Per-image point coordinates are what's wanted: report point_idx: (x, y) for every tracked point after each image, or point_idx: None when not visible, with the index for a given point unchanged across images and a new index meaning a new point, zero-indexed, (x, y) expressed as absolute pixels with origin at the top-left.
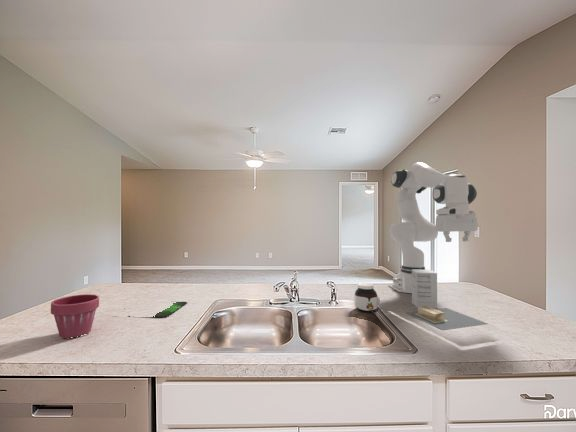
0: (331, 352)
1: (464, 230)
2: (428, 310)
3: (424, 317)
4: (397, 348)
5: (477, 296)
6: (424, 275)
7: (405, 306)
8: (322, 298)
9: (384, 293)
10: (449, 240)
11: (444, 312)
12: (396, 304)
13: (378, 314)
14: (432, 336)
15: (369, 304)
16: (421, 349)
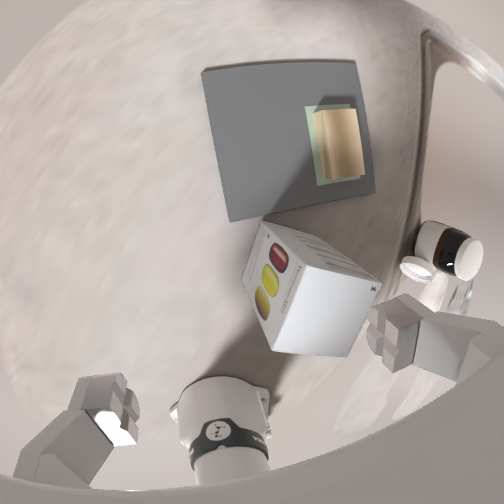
0: (497, 82)
1: (152, 499)
2: (353, 139)
3: None
4: (442, 51)
5: (53, 345)
6: (350, 271)
7: None
8: None
9: (315, 377)
10: (406, 300)
11: (267, 177)
12: None
13: (419, 206)
14: (379, 59)
15: (443, 224)
16: (415, 31)
